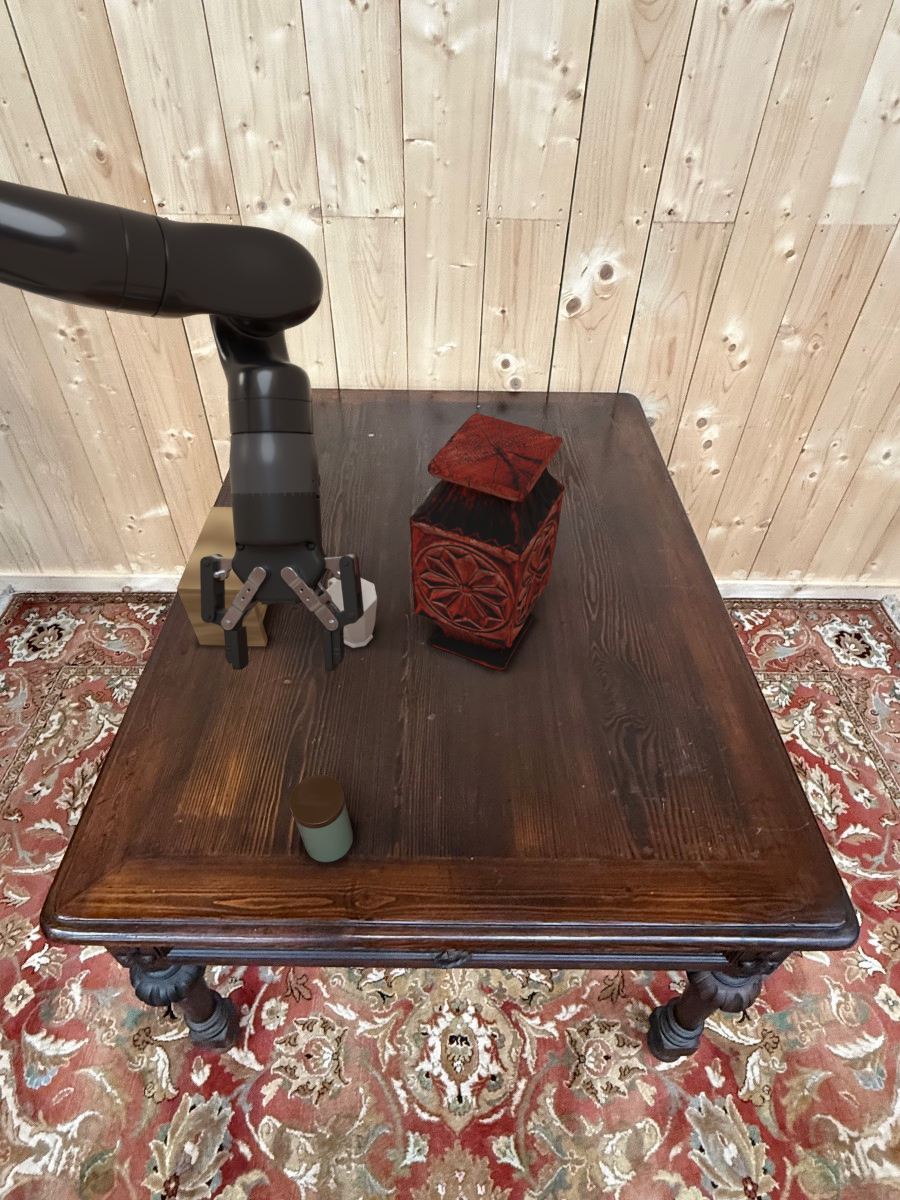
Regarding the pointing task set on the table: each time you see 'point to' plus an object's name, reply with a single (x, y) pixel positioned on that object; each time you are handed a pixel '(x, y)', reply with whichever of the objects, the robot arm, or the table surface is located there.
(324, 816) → the jar
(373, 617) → the cup
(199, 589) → the shelf
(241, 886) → the table surface
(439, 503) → the red carved wooden box
